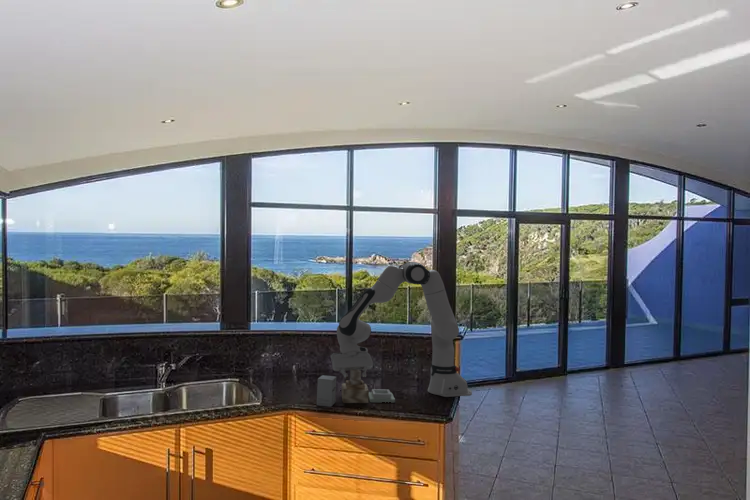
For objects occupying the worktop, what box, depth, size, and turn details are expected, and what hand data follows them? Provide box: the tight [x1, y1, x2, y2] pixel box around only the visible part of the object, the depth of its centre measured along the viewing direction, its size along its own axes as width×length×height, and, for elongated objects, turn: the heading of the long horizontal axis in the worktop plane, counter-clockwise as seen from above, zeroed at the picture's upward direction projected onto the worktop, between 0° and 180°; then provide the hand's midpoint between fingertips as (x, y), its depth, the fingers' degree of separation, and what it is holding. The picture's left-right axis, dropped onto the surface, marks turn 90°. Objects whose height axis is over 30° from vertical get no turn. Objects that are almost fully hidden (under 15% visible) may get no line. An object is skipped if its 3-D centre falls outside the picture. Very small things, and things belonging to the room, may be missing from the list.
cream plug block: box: [349, 369, 362, 385], centre depth 290 cm, size 4×4×8 cm
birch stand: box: [341, 379, 370, 404], centre depth 291 cm, size 12×12×8 cm
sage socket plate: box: [368, 388, 396, 404], centre depth 293 cm, size 12×12×4 cm
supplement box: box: [316, 374, 337, 408], centre depth 281 cm, size 7×7×13 cm
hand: (355, 376), depth 290 cm, fingers open, 8 cm apart
